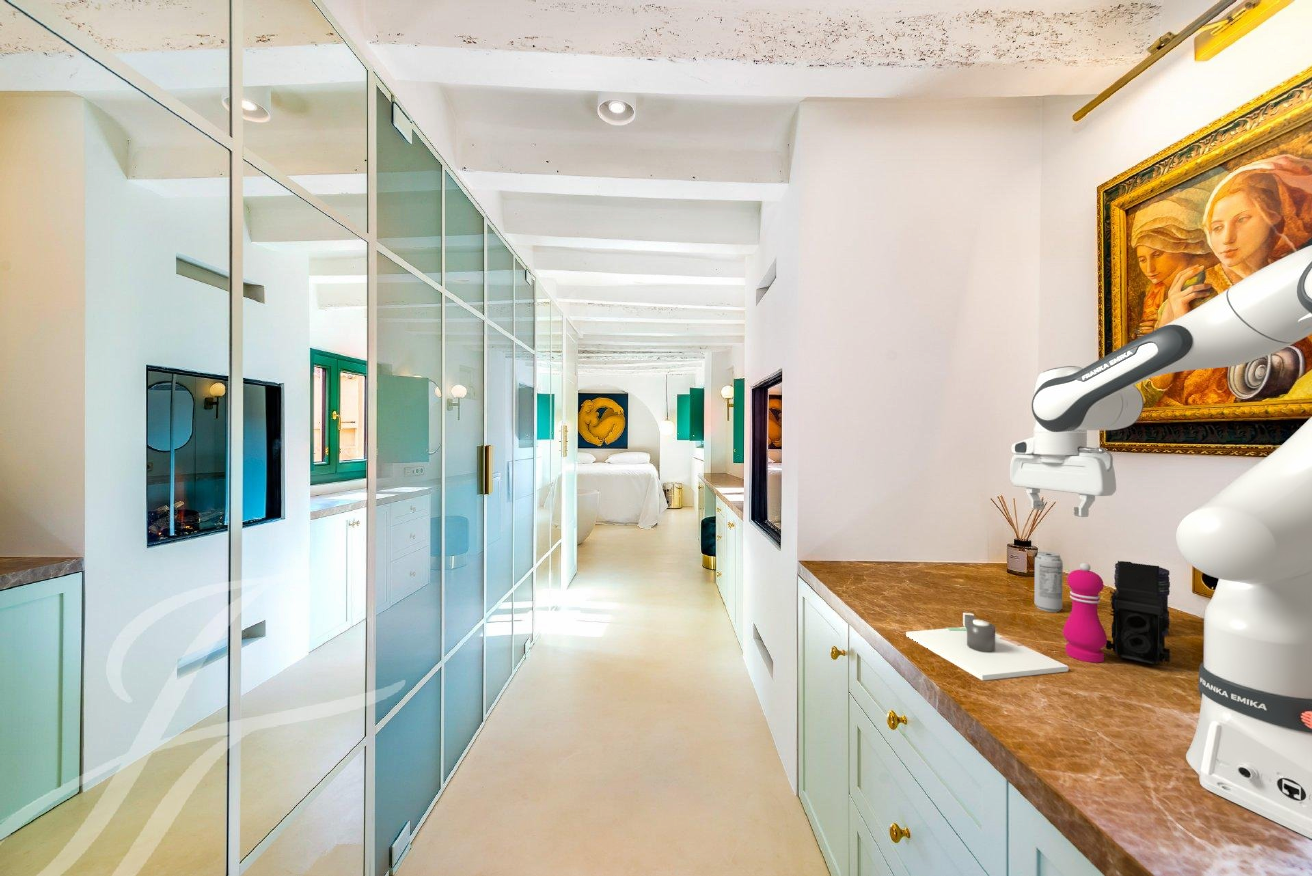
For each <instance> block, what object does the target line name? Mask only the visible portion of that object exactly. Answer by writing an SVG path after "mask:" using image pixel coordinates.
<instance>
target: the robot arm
mask: <svg viewBox="0 0 1312 876" xmlns="http://www.w3.org/2000/svg"><path fill="white" fill-rule="evenodd" d="M1310 335H1312V244H1310V245H1309V246H1306V247H1303V248H1302V249H1299V250H1297V251H1295V252H1292V253H1290V254H1288V255H1286V256H1284V257H1282V258H1281V259H1278V260H1276V261H1274V262H1273V263H1270V264H1268V265H1267V266H1264V267H1262V268H1260V269H1258V270H1257V271H1255V272H1253V273H1252V274H1250V275H1248V276H1246V277H1245V278H1243V279H1241V280H1240V281H1238V282H1236V283H1235V284H1233V285H1231V286H1230V287H1229V288H1227V289H1225V290H1224V291H1222V292H1221V293H1220V292H1219V294H1218V295H1216V296H1214V297H1212V298H1211V299H1209V300H1207V301H1206V302H1203V303H1202V304H1201V305H1199V306H1198V307H1196V308H1194V309H1192V310H1190V311H1189V312H1187V313H1185V314H1183V315H1181V316H1180V317H1178V318H1176V319H1174V320H1172V321H1169V322H1168V323H1166V324H1164V325H1162V326H1160V327H1158V328H1156V329H1154V330H1153V331H1150V332H1148V333H1145V334H1144V335H1141V336H1140V337H1138V338H1136V339H1134V340H1132V341H1130V342H1128V343H1127V344H1125V345H1123V346H1121V347H1120V348H1118V349H1116V350H1114V351H1112V352H1110V353H1109V354H1107V355H1105V356H1103V357H1101V358H1099V359H1097V360H1096V361H1094V362H1092V363H1091V364H1089V365H1087V366H1085V367H1081V366H1075V365H1067V366H1066V365H1065V366H1060V367H1054V368H1049V369H1047V370H1045V371H1043V372H1041V373H1039V375H1038V376H1037V379H1036V381H1035V384H1034V389H1033V398H1032V400H1031V411H1032V415H1033V417H1034V420H1035V422H1034V426H1033V428H1032V429H1033V430H1032V437H1029V438H1027V439H1023V440H1020V441H1018V442H1015V443H1013V444H1012V445H1011V449H1010V450H1011V453H1013V455H1012V457H1011V459H1010V464H1009V480H1010V482H1011V484H1012V486H1014V487H1019V488H1025V489H1026V491H1025V492H1026V495H1027V496H1028V498H1029V500H1030V501H1031V502H1030V504H1031V505H1030V507H1031V509H1033V510H1038V511H1042V510H1044V509H1045V501H1042V500H1041V497H1040V496H1039V494H1040V493H1041V490H1046V491H1053V492H1062V493H1070V494H1078V495H1079V498H1078V499H1079V500H1081V501H1080V504H1079V505H1078V506H1075V507H1074V508H1073V515H1074V516H1075V517H1081V518H1087V517H1089V513H1090V510H1089V509H1090V508H1091V506H1092V505H1093V504H1094V502H1095V501H1096V496H1097V497H1108V496H1109V497H1110V496H1113V495H1114V494H1115V493H1116V491H1117V482H1116V481H1117V479H1116V473H1115V468H1114V457H1113V456H1114V455H1113V454H1112V453H1111V452H1110V451H1109V450H1106V448H1104V447H1099V446H1098V447H1089V446H1088V443H1087V441H1088V431H1113V430H1121V429H1125V428H1128V427H1130V426H1132V425H1134V424H1135V423H1136V422H1137V421H1138V420H1139V418H1140V417H1141V415H1142V413H1143V409H1144V405H1145V404H1144V403H1145V402H1144V397H1143V394H1142V391H1140V389H1139V388H1138V387H1137V386H1135V385H1137V384H1139V383H1141V382H1143V381H1145V380H1149V379H1151V378H1155V377H1159V376H1163V375H1167V374H1171V373H1172V374H1173V373H1179V372H1186V371H1194V370H1195V371H1198V370H1206V369H1218V368H1228V367H1230V368H1231V367H1236V366H1240V365H1244V364H1247V363H1250V362H1253V361H1256V360H1259V359H1261V358H1264V357H1267V356H1269V355H1273V354H1275V353H1277V352H1279V351H1281V350H1283V349H1286V348H1287V347H1290V346H1292V345H1293V344H1295V343H1297V342H1299V341H1301V340H1303V339H1304V338H1307V337H1309V336H1310ZM1175 542H1176V545H1177V548H1178V550H1179V552H1180V554H1181V555H1182V557H1183V559H1184V560H1186V562H1188V563H1189V565H1191V566H1192V567H1193V568H1195V570H1197V571H1200V572H1202V573H1203V574H1205V575H1207V576H1209V577H1213V578H1216V579H1218V581H1217V585H1216V587H1215V590H1214V592H1213V595H1212V597H1211V598H1210V601H1209V602H1208V604H1207V605H1206V607H1205V610H1204V614H1203V661H1202V662H1200V664H1199V666H1198V668H1199V669H1198V687H1197V688H1198V693H1199V697H1200V700H1201V701H1200V702H1201V703H1200V709H1199V716H1198V720H1197V726H1196V729H1195V733H1194V736H1193V739H1192V742H1191V744H1190V746H1189V748H1188V750H1187V752H1185V753H1186V754H1185V758H1186V761H1187V763H1188V765H1189V766H1190V767H1191V768H1192V769H1193V770H1194V771H1195V773H1197V775H1198V779H1199V784H1200V785H1201V787H1202V788H1204V789H1205V790H1207V791H1209V792H1211V793H1213V794H1215V795H1218V796H1219V797H1222V798H1224V799H1226V800H1228V801H1230V802H1232V803H1235V804H1236V805H1239V806H1240V807H1243V808H1245V809H1247V810H1249V811H1251V812H1254V813H1255V814H1258V815H1260V816H1262V817H1264V818H1267V819H1268V820H1270V821H1272V822H1275V823H1277V824H1279V825H1281V826H1284V827H1285V828H1287V829H1290V830H1291V831H1294V832H1297V833H1298V834H1300V835H1301V836H1305V837H1306V838H1309V839H1311V840H1312V416H1311V417H1309V419H1308V420H1307V421H1306V422H1304V424H1303V425H1301V426H1300V427H1299V429H1297V430H1296V431H1295V432H1294V433H1293V434H1292V435H1291V436H1290V437H1289V438H1288V439H1287V440H1285V442H1284V443H1282V444H1281V445H1280V446H1278V448H1276V449H1275V450H1274V451H1272V453H1270V454H1269V455H1268V456H1266V457H1264V458H1263V459H1262V460H1260V461H1259V462H1258V463H1256V464H1255V465H1254V466H1252V467H1250V468H1249V469H1247V471H1245V472H1244V473H1243V474H1241V475H1240V476H1239V477H1237V478H1236V479H1234V480H1233V481H1232V482H1231V483H1229V484H1228V485H1226V487H1224V488H1222V489H1221V490H1220V492H1218V493H1217V494H1216V495H1214V496H1213V497H1212V498H1211V499H1209V501H1207V502H1206V503H1204V504H1203V505H1201V506H1200V507H1198V508H1197V509H1195V510H1193V511H1192V512H1190V513H1188V515H1186V516H1185V517H1184V518H1183V519H1182V520H1181V521H1180V522H1179V523H1178V527H1177V529H1176V533H1175Z"/></svg>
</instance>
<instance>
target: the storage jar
mask: <svg viewBox="0 0 1312 876" xmlns="http://www.w3.org/2000/svg"><path fill="white" fill-rule="evenodd" d="M1136 564H1138V563H1136ZM1143 564H1144V563H1143ZM1144 565H1146V564H1144ZM1114 568H1115V569H1114V574H1113V575H1114V582H1113V584H1114V587H1115V590H1116V591H1117V575H1118V562H1116V563H1115V564H1114ZM1170 588H1171V582H1170V570H1169V569H1167V568H1164V567H1161V566H1159V597H1162V600H1163V599H1164V600H1165V599H1166V600H1167V602H1165V605H1166V608H1165V607H1164V606H1165V605H1163V609H1167V614H1166V615H1165V614H1163V615H1164V616H1165V619H1168V620H1169V625H1170V620H1171V619H1170V611H1169V608H1168V607H1169V602H1168V600H1169V597H1168V596H1169V595H1170V592H1171V591H1170ZM1163 633H1164V636H1165V637H1168V636H1169V635H1170V633H1169V629H1168V628H1165V631H1163Z"/></svg>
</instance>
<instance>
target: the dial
mask: <svg viewBox="0 0 1312 876" xmlns="http://www.w3.org/2000/svg"><path fill="white" fill-rule="evenodd" d="M962 625H963V627H966V629H967V646H968V647H970V648H972V649H975V650H978V651H983V652H993V651H995V633H996V626H995V625H994V624H992V623H990V622H988V621H987V620H983V619H977V617H975V615H974V613H970V612H963V613H962Z"/></svg>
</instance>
